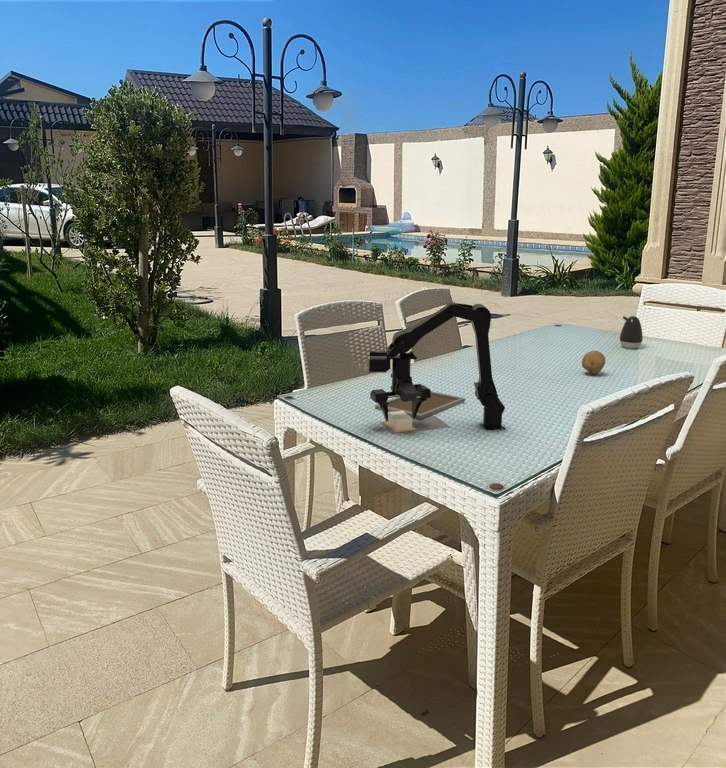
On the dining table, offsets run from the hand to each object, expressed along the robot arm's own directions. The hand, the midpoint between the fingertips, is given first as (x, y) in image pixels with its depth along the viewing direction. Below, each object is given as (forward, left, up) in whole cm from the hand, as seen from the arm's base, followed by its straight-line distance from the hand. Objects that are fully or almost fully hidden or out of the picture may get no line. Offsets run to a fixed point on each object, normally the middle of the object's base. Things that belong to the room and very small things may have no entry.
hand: (400, 419), depth 231 cm
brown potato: (+37, -99, -3) cm, 106 cm away
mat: (0, -5, -3) cm, 6 cm away
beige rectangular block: (0, 0, -2) cm, 2 cm away
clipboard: (+18, -14, -3) cm, 23 cm away
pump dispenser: (+73, -146, -3) cm, 163 cm away
